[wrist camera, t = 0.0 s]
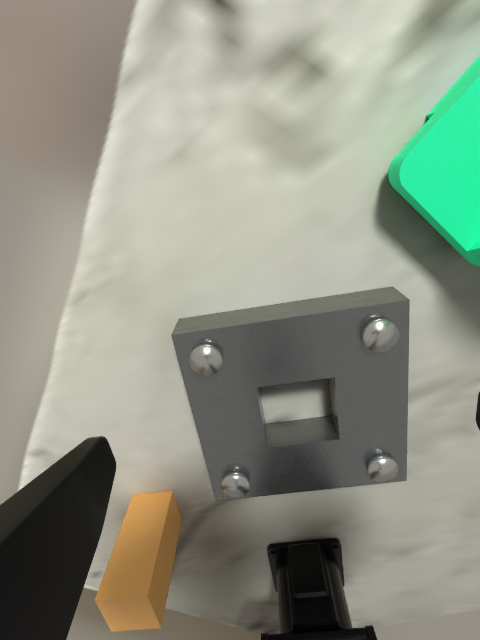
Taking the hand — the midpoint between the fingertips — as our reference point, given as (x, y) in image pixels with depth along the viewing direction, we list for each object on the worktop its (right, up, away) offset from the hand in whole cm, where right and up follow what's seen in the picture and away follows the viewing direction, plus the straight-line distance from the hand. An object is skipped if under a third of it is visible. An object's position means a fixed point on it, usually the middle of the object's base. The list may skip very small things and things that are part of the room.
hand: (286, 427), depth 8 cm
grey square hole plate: (+3, -3, +17) cm, 17 cm away
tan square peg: (-8, -14, +22) cm, 27 cm away
